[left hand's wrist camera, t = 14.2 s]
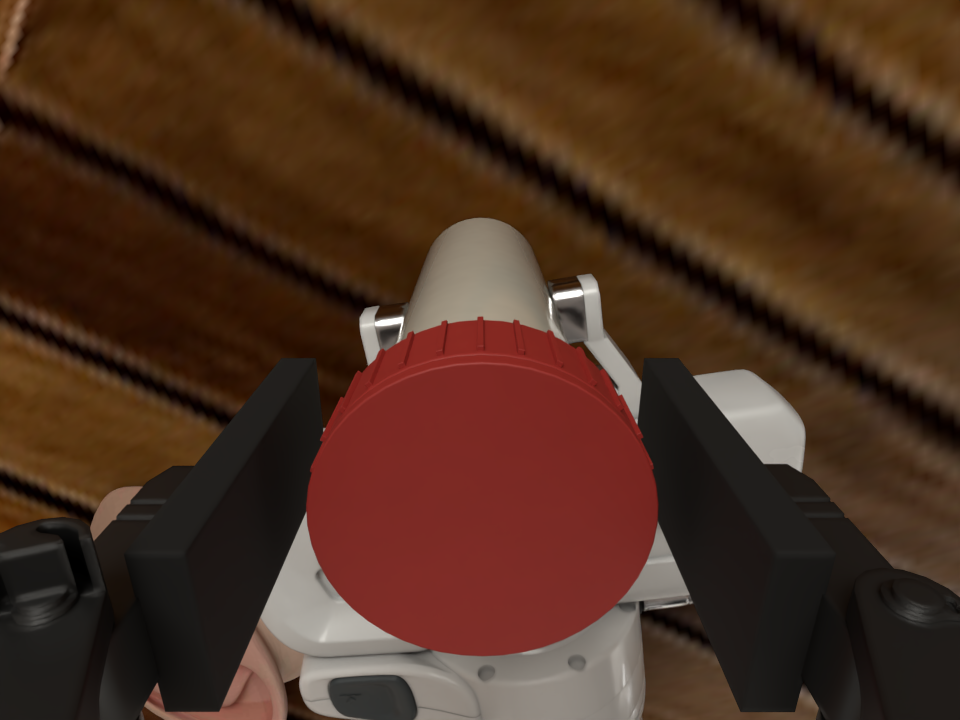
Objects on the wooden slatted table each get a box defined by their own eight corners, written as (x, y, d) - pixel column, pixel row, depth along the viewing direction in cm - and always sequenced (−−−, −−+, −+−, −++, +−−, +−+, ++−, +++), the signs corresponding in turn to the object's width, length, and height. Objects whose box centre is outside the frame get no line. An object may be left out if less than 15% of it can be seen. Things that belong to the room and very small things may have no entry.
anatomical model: (-2, 536, 26) (272, 539, 26) (58, 483, 30) (298, 485, 30) (73, 754, 31) (302, 756, 31) (116, 686, 35) (321, 688, 35)
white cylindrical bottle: (400, 265, 26) (284, 488, 11) (491, 193, 25) (510, 323, 9) (471, 349, 27) (459, 655, 12) (560, 285, 26) (673, 529, 11)
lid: (265, 435, 12) (223, 498, 10) (512, 247, 11) (520, 276, 9) (457, 622, 14) (453, 707, 12) (690, 481, 12) (730, 550, 10)
